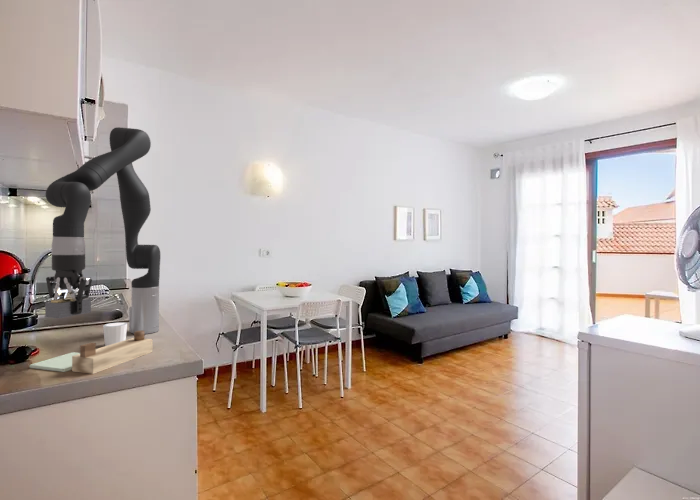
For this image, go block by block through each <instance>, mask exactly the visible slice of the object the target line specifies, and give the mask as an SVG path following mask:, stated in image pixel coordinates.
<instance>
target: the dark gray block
mask: <svg viewBox="0 0 700 500" xmlns="http://www.w3.org/2000/svg"><path fill="white" fill-rule="evenodd" d="M72 301H73V300H72V297H66V298H64V299H56V300H55V299H51V300H50V301H45V303H44V304H45V305H44V308H45V310H44V311H45V312H44V313H45V314H44V315H45V318H51V319H63V318H68V317H73V316H80V315H83V314H89V313H91V311H92V299H91V298H89V297H88V298H85V299H83V300H82V312H81V314H76V315H74V314H72Z"/></svg>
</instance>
